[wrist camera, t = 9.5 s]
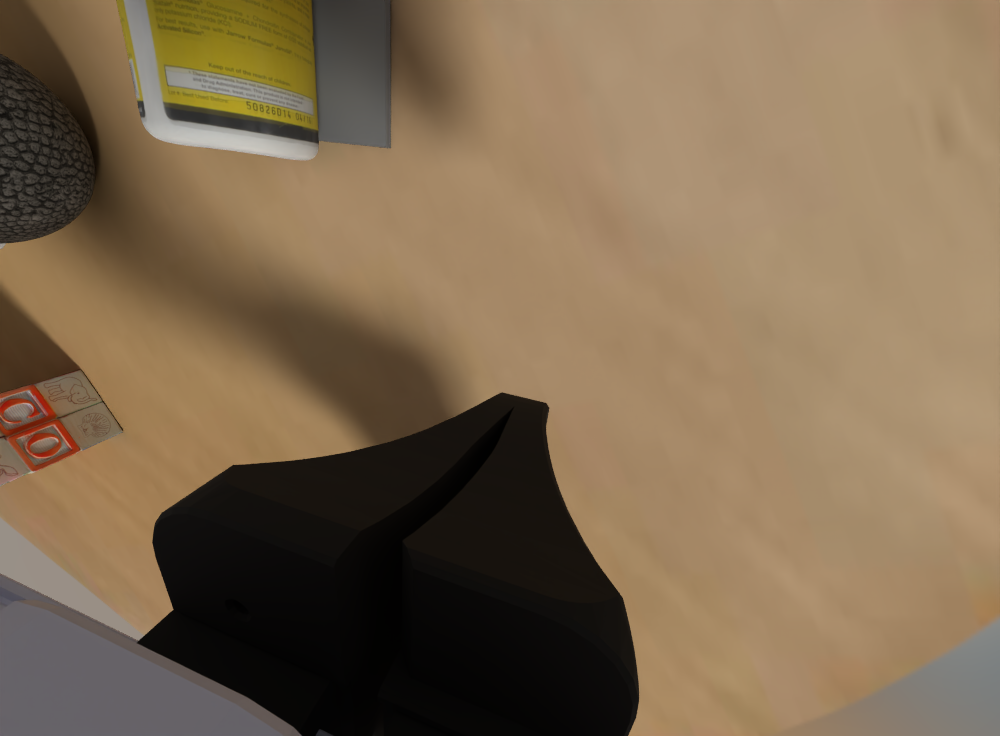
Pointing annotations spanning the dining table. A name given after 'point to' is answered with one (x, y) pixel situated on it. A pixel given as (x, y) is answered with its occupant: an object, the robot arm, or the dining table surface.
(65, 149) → the decorative ball
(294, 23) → the pill bottle
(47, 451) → the stack of blocks
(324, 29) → the mat
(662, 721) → the dining table surface
